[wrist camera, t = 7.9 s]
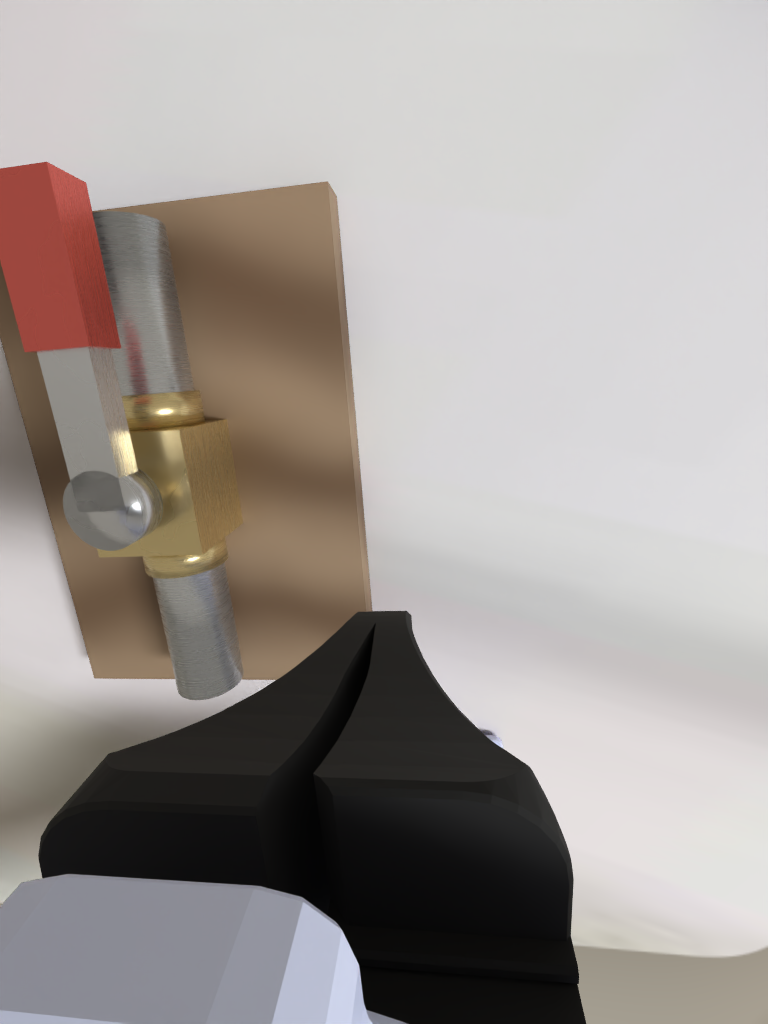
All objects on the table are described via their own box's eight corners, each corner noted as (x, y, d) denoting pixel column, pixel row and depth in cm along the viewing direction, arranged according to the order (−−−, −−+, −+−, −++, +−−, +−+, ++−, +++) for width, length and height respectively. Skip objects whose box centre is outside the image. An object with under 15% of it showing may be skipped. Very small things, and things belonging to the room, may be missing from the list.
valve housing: (266, 658, 23) (232, 715, 19) (187, 658, 23) (138, 714, 19) (198, 231, 18) (134, 194, 14) (99, 243, 18) (11, 210, 14)
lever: (173, 534, 16) (146, 551, 15) (103, 537, 17) (70, 554, 15) (100, 184, 13) (57, 160, 12) (18, 195, 14) (-34, 173, 12)
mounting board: (376, 661, 23) (372, 680, 22) (113, 660, 25) (94, 678, 24) (336, 196, 18) (327, 181, 16) (4, 237, 20) (-31, 226, 18)
